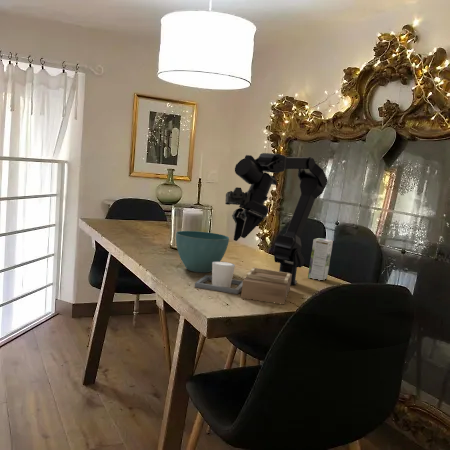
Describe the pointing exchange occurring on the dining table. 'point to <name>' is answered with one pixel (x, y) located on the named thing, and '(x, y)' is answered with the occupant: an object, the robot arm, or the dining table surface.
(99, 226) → the dining table surface
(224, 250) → the teal round bowl
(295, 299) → the dining table surface
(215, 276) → the shot glass
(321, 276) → the syrup box
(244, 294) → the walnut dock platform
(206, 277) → the grey square frame
